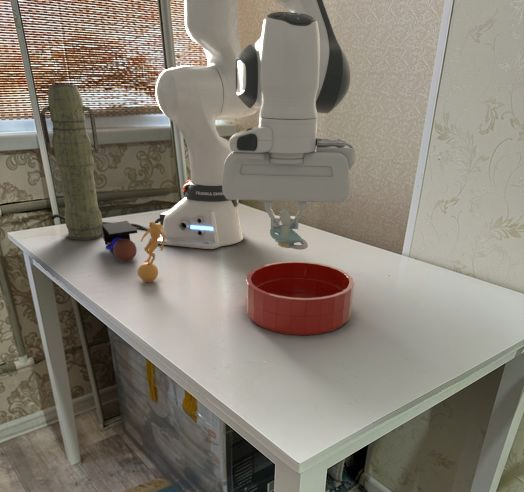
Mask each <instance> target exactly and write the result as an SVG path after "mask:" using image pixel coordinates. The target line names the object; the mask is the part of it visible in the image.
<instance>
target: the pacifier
mask: <svg viewBox="0 0 524 492" xmlns="http://www.w3.org/2000/svg"><path fill="white" fill-rule="evenodd" d="M279 216H280V228H271V227H270V230H269V234H270V237H271V238H272V239H273V240H275V241H274V242H275V243H277V245H278V246H279V247H281V248H284V249H293V250H305V249H307V248H308V247H309V243H308V242H307V241H306V240H305V239H304V238H303V237H301V236H300V235H299V234H298V233H297V232H296V231H295V230H294V229H290V227H291V217H290V216H291V213H290V210H289V208H288V207H287V206H285V207H283V208H282V209H281V210H280V213H279ZM296 243H300V244H296Z"/></svg>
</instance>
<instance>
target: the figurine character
mask: <svg viewBox="0 0 524 492" xmlns="http://www.w3.org/2000/svg"><path fill="white" fill-rule="evenodd" d="M130 223H131V222H129V221H128V220H123V221H115V222H114V223H107V224H102V227H101V232H102V236H101V237H102V239H103V241H104V245H105V249H106V250H109V251H111V252H113V254H114V256H115V258H117V260H120V261H122V262H129V261H131V260H133V259H134V258H135V257H136V256H137V246H136V243H135V242H134V241H132V240H131V235H132V234H133V235H134V234H138V229H137V228H136V227H133V226H132V225H131V224H130Z"/></svg>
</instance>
